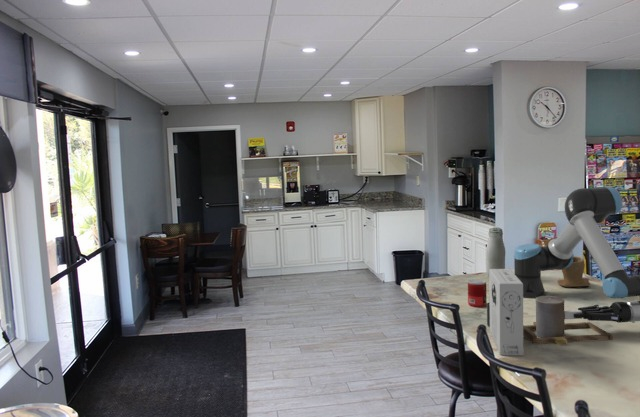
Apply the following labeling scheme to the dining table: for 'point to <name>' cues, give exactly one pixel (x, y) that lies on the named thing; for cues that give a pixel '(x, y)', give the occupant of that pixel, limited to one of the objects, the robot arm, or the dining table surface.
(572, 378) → the dining table surface
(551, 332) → the pillar candle
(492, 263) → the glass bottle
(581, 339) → the frame
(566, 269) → the stone cup
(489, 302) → the supplement bottle
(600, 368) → the dining table surface
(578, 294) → the dining table surface
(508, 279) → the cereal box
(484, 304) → the canned food
